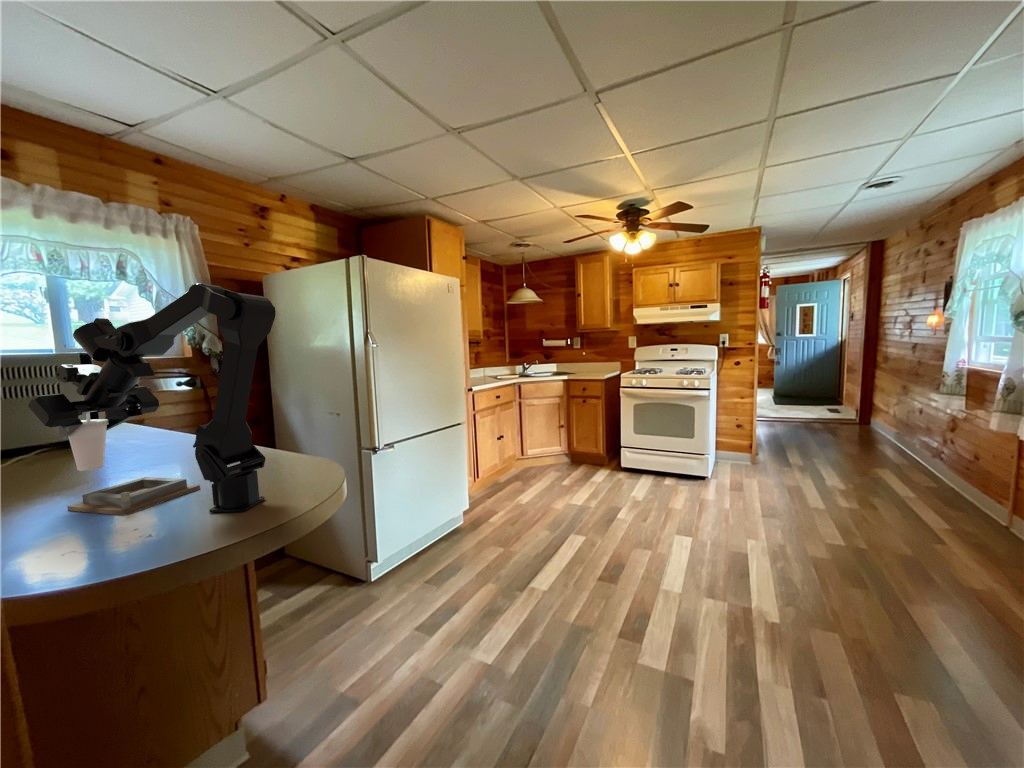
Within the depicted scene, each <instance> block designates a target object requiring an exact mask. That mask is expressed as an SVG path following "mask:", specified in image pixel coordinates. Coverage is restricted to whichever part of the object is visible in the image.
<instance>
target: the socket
mask: <svg viewBox="0 0 1024 768" xmlns="http://www.w3.org/2000/svg"><path fill="white" fill-rule="evenodd" d="M198 490H201V485H200V484H189V483H188V480H187V478H173V477H172V478H170V477H156V476H155V477H153V476H152V477H151V476H144V477H141V478H140V477H139V478H137V479H133V480H130V481H126V482H124V483H120V484H117V485H113V486H109V487H106V488H103V489H99V490H95V491H91V492H87V493H85V494H82V495H81V497H82V501H80V502H77V503H74V504H71V505H67V511H70V512H80V511H82V513H83V512H84V513H94V514H105V515H107V514H108V515H115V516H116V515H117V516H128V515H130V514H133V513H136V512H139V511H142V510H144V509H148V508H150V507H152V506H156V505H158V504H162V503H165V502H167V501H170V500H173V499H175V498H178V497H180V496H183V495H187V494H189V493H192V492H195V491H198Z"/></svg>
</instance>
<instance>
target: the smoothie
mask: <svg viewBox="0 0 1024 768" xmlns="http://www.w3.org/2000/svg"><path fill="white" fill-rule="evenodd" d="M85 417H86V419H85V420H84V419H83V420H82V419H80V420H81V421H82V422H83V424H82V425H81V426H80V427H79V428H78V429H76V430H75V431H74V432H73V433H72V434H70V435H69V436H68V437H67V438H68V441H69V444H70V448H71V451H72V454H73V455H72V456H73V459H74V462H75V465H76V468H77V471H79V472H84V471H85V472H86V471H94V470H97V469H102V468H104V466H105V465H104V464H105V453H106V441H107V431H106V429H107V425H108V424H109V423H108V420H107V419H105V418H99V419H98V418H96V419H91V412H89V413H85Z"/></svg>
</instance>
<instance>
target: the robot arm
mask: <svg viewBox="0 0 1024 768" xmlns="http://www.w3.org/2000/svg"><path fill="white" fill-rule="evenodd" d="M276 313H277V311H276V307H275V306H274V304H272V301H271V300H270V299H269V298H267V297H265V296H261V295H255V294H249V293H243V292H242V293H241V292H235V291H231V290H228V289H226V288H223V287H222V286H221V285H214V284H208V283H201V282H200V283H199V282H198V283H193V284H191V286H190V287H189V289H188V290H187V291H186V292H184V293H183V294H182V295H180V296H179V297H177V298H176V299H174V300H173V301H171V302H170V303H168V304H167V305H166V306H165V307H163V308H161V309H160V310H159V311H157V312H155V313H154V314H153V315H151V316H150V317H147V318H145V319H140V320H134V321H129V322H127V323H125V324H123V325H120V326H118V327H115V326H114V324H113V323H112V321H111V320H110V319H109V318H105V317H104V318H99V317H95V318H94V320H93V321H91V322H87V323H85V324H82V325H81V326H79V327H77V328H76V329H74V331H73V333H72V337H73V339H74V340H75V341H76V342H77V343H78V345H79V346H80V347H81V348H82V349H83V351H85V353H87V355H88V356H89V357H90V358H91V359H92V360H93V361H95V362H101V363H103V365H102V366H99V365H98V364H97V365H96V364H90V363H89V364H71V363H70V364H61V365H60V366H59V367H58V368H57V370H56V373H55V378H56V379H57V380H58V381H60V382H61V383H63V384H72V385H73V386H76V387H77V388H76V393H77V394H78V395H79V396H83V398H82V400H77V401H70V400H69V398H68V397H67V396H66V395H65V394H64V393H54V394H44V395H43V394H41V395H34V396H33V397H32V398H31V400H30V401H29V403H28V405H27V407H28V408H29V409H30V410H31V412H33V413H34V415H35V416H36V417H37V418H38V420H39V421H40V422H41V423H42V424H43V425H44V426H45V427H48V428H55V427H58V435H59V437H60V438H61V439H63V440H65V439H66V438H68V436H69V435H70V434H72V433H73V432H74V431H75V430H76V429H78V428H79V427H80V426H81V425H82V424H83V422H82V421H81V420H82V419H80V417H81V416H82V415H83V414H86V413H89V412H90V413H95V412H97V413H102V412H107V413H106V415H105V417H104V419H107V420H108V423H109V424H108V425H107V429H106V432H107V431H109V430H111V429H113V428H115V427H117V426H120V425H121V424H123V423H126V422H128V421H130V420H132V419H135V418H137V417H141V416H142V415H144V414H150V413H156V411H157V410H158V409H159V407H160V405H161V402H160V400H159V399H158V398H157V396H156V395H155V394H154V393H153V392H152V391H151V390H150V388H148V387H147V386H146V385H141V386H136V385H137V383H138V382H139V380H140V379H141V378H148V377H149V378H150V377H154V376H155V371H154V369H153V368H152V366H151V363H150V362H148V361H146V359H145V358H146V357H147V358H148V357H162V356H164V355H165V354H166V353H167V352H168V351H169V350H170V349H172V348H173V346H174V344H175V338H176V337H177V336H178V335H180V334H181V333H183V332H185V331H186V330H187V329H189V328H190V327H192V326H193V325H195V324H196V323H198V322H200V321H201V320H202V319H204V318H206V317H207V316H208V315H210V314H211V315H214V316H217V317H216V318H217V319H216V320H217V321H216V325H217V328H218V329H219V332H220V334H221V336H222V338H223V339H224V348H223V354H222V361H221V366H220V373H219V378H218V379H219V380H218V385H217V392H216V397H215V403H214V410H213V415H212V419H210V421H209V422H208V423H206V424H202V425H198V426H197V427H196V430H195V441H194V444H193V445H192V448H194V449H195V450H194V457H195V460H196V463H197V465H198V468H199V470H200V472H201V476H202V478H203V480H204V481H209V482H210V483H211V491H212V504H213V507H211V508H209V509H208V510H209V511H208V512H209V513H235V512H236V513H237V512H238V513H239V512H241V513H243V512H245V511H247V510H249V509H251V508H252V507H254V506H256V505H257V504H259V503H261V502H262V501H264V500H265V499H266V497H265V496H261V495H260V490H259V477H258V470H259V469H263V468H264V467H265V463H266V460H267V459H266V457H265V455H264V454H263V453H262V452H261V451H260V450H259V449H258V448H257V447H256V446H255V445H254V443H253V433H252V431H251V428H250V426H249V425H248V423H247V415H248V409H249V401H250V395H251V390H252V389H251V388H252V385H253V384H252V383H253V379H254V372H255V366H256V361H257V354H258V350H259V346H260V345H261V344H262V343H263V341H264V340H265V339H266V338H267V337H268V335H269V334H270V333H271V331H272V330H271V329H272V328H273V325H274V322H275V320H276V319H275V318H276V315H277V314H276ZM236 463H237V464H236ZM232 464H233V465H232ZM230 465H231V466H230Z"/></svg>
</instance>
